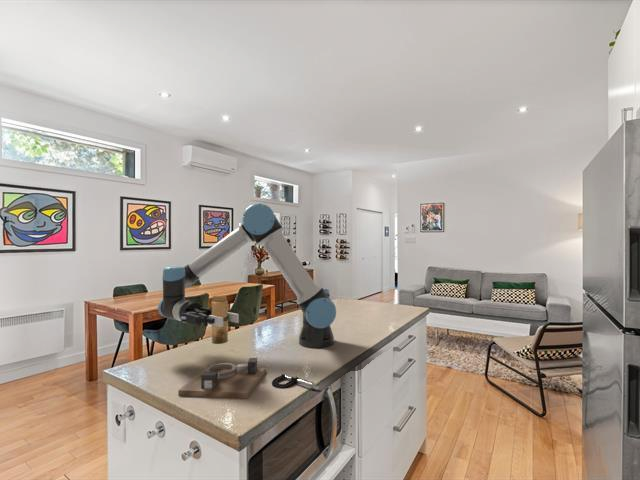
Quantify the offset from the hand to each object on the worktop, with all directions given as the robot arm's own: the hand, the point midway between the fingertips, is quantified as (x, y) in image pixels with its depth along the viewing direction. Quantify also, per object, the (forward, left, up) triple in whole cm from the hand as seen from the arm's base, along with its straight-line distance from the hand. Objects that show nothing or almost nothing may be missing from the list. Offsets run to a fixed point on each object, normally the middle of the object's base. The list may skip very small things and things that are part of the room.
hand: (230, 320), depth 102 cm
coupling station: (+1, +1, -19) cm, 19 cm away
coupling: (+4, -3, -8) cm, 9 cm away
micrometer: (-20, +2, -20) cm, 28 cm away
